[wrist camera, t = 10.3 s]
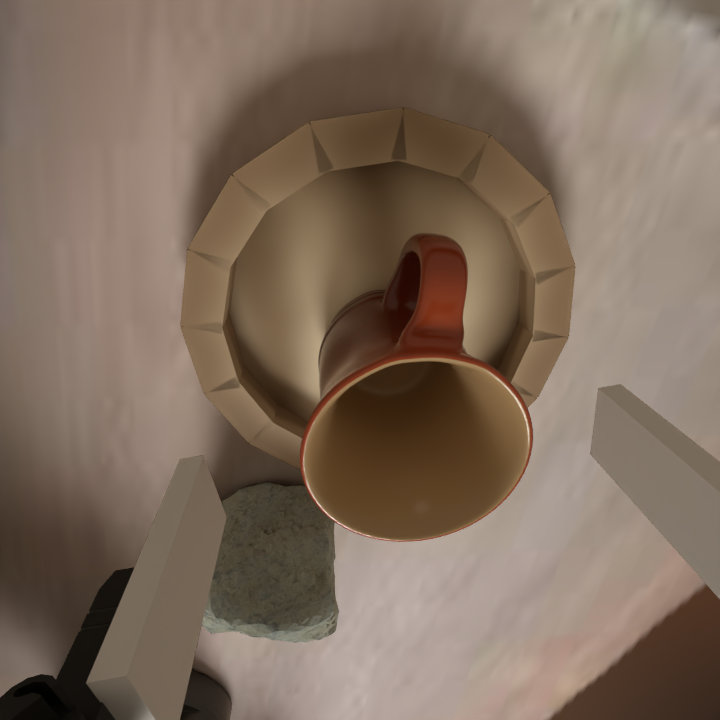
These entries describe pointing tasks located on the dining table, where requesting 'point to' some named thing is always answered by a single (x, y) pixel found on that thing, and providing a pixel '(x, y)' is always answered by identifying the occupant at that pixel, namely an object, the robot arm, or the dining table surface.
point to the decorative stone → (274, 567)
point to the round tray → (365, 260)
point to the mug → (412, 409)
